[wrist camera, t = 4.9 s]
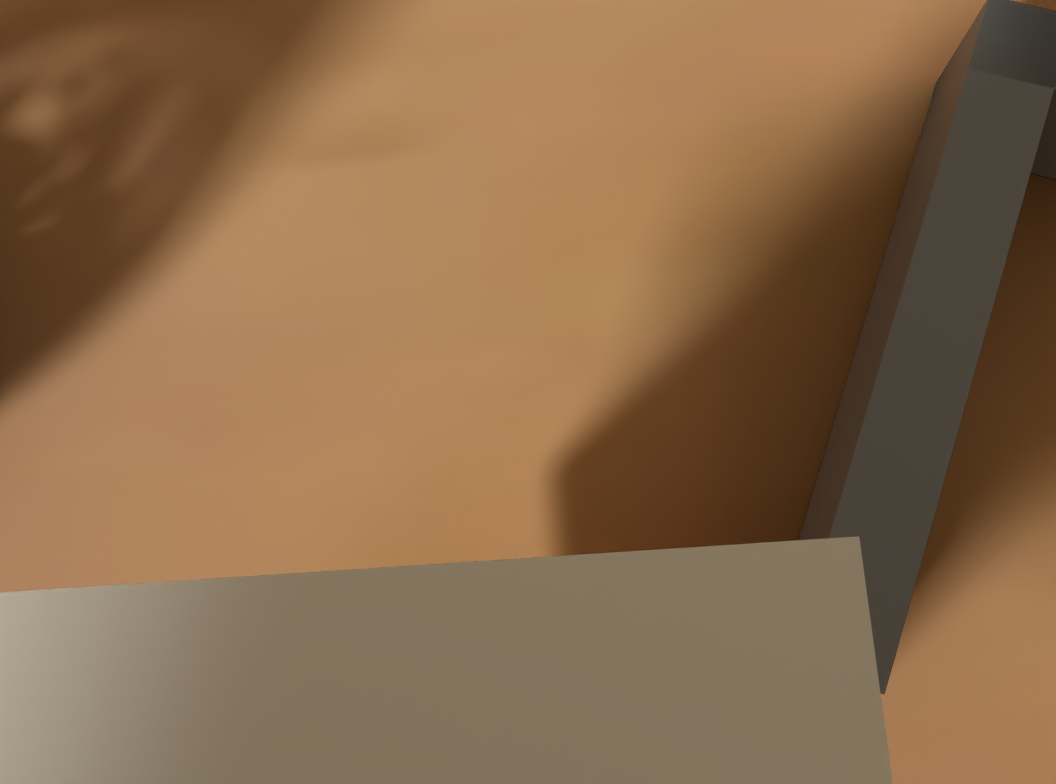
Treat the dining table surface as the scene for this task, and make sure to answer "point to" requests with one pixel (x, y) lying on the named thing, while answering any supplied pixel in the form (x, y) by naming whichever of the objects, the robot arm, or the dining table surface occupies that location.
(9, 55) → the dining table surface
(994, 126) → the frame
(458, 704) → the post
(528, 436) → the dining table surface
